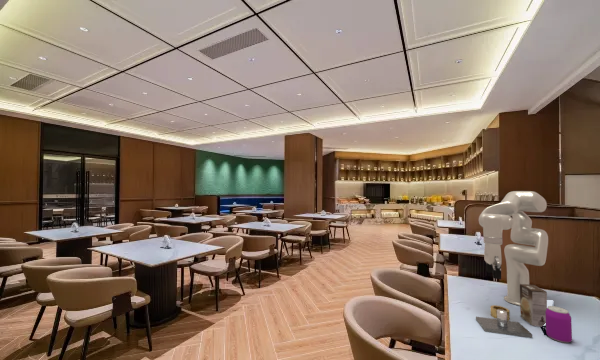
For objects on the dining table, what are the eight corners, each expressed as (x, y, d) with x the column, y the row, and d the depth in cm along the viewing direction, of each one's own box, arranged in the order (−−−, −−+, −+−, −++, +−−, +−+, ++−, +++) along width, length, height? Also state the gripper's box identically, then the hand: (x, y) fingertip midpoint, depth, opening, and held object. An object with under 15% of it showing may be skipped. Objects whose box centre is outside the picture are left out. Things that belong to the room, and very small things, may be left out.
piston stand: (518, 325, 119) (518, 308, 119) (532, 338, 108) (531, 319, 109) (475, 319, 124) (475, 303, 124) (485, 331, 113) (484, 313, 114)
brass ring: (505, 314, 129) (505, 306, 130) (512, 321, 123) (512, 312, 123) (488, 312, 131) (488, 304, 132) (494, 319, 125) (494, 310, 125)
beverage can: (567, 336, 110) (566, 307, 111) (575, 346, 103) (574, 315, 104) (543, 331, 114) (542, 303, 114) (550, 340, 107) (549, 310, 107)
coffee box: (519, 316, 128) (518, 283, 128) (534, 318, 126) (533, 284, 127) (532, 326, 119) (531, 290, 119) (548, 327, 117) (547, 291, 118)
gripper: (479, 237, 138) (479, 269, 137) (489, 242, 122) (489, 280, 121) (496, 238, 135) (497, 271, 135) (508, 244, 119) (509, 282, 119)
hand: (493, 275), depth 128 cm, fingers open, 9 cm apart
